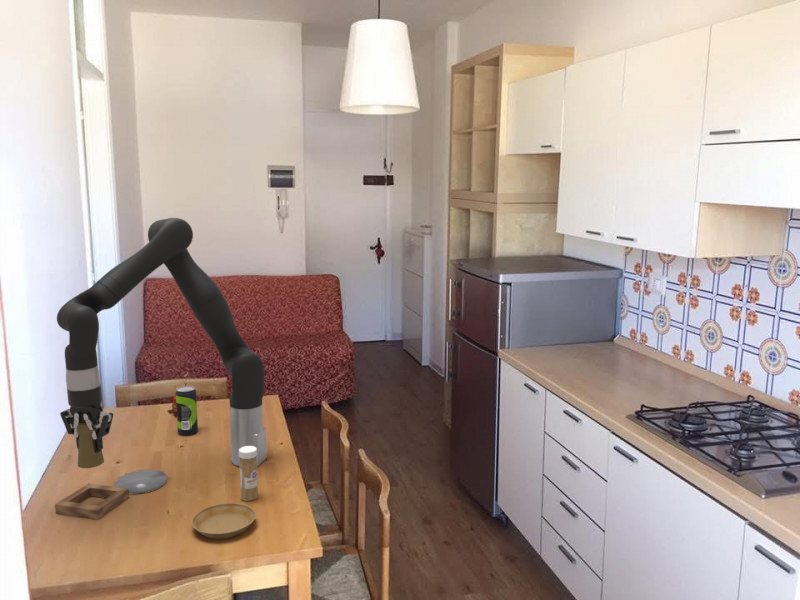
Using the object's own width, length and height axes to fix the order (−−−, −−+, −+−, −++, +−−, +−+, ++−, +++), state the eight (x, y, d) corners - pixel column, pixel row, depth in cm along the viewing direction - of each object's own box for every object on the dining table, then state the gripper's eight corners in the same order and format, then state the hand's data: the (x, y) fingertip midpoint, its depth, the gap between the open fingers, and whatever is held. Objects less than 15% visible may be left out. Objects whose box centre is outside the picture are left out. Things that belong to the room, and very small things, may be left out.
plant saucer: (178, 536, 155) (177, 526, 154) (216, 508, 168) (216, 498, 168) (232, 549, 150) (232, 538, 149) (267, 518, 163) (267, 508, 163)
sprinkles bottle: (252, 502, 171) (251, 453, 168) (237, 500, 172) (235, 450, 170) (261, 494, 175) (260, 446, 173) (246, 492, 176) (244, 444, 174)
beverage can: (202, 431, 219) (199, 387, 216) (186, 437, 213) (184, 392, 211) (189, 428, 222) (186, 384, 219) (173, 433, 217) (171, 389, 214)
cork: (94, 469, 163) (90, 426, 161) (72, 467, 165) (68, 424, 163) (109, 459, 169) (105, 417, 167) (88, 457, 170) (84, 416, 168)
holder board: (129, 497, 173) (128, 488, 173) (97, 519, 162) (97, 510, 161) (89, 491, 176) (88, 483, 176) (55, 513, 165) (55, 504, 164)
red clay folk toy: (169, 413, 235) (166, 372, 233) (188, 409, 240) (186, 369, 237) (178, 419, 229) (175, 377, 227) (197, 415, 234) (195, 373, 231)
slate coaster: (176, 475, 186) (176, 472, 186) (147, 496, 174) (147, 493, 173) (135, 470, 189) (135, 467, 189) (104, 490, 177) (104, 487, 176)
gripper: (119, 382, 165) (124, 447, 168) (69, 378, 168) (76, 442, 172) (98, 391, 158) (104, 459, 161) (47, 387, 161) (55, 454, 164)
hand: (90, 450), depth 166 cm, fingers closed on cork, 3 cm apart
